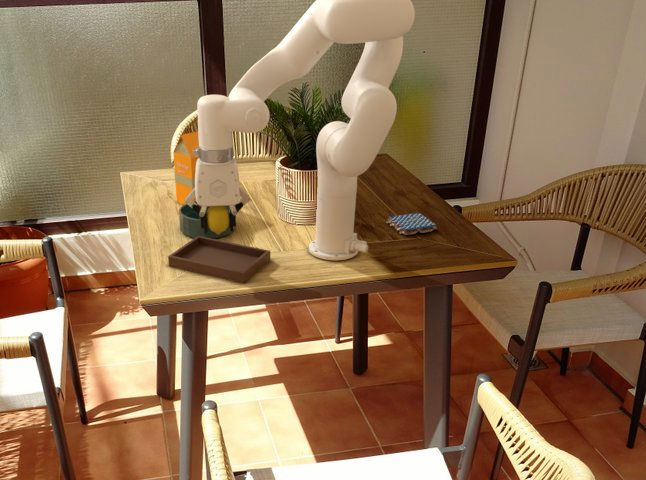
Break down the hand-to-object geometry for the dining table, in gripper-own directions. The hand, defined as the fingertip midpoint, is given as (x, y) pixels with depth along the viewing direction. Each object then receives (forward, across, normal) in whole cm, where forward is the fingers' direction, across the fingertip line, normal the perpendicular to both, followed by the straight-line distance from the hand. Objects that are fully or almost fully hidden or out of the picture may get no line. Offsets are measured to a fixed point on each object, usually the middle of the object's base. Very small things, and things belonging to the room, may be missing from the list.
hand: (218, 229), depth 174 cm
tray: (+9, 0, 0) cm, 9 cm away
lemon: (+1, 0, 0) cm, 1 cm away
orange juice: (+9, -3, +43) cm, 44 cm away
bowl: (+9, -1, +22) cm, 23 cm away
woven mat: (+9, +54, +16) cm, 57 cm away
